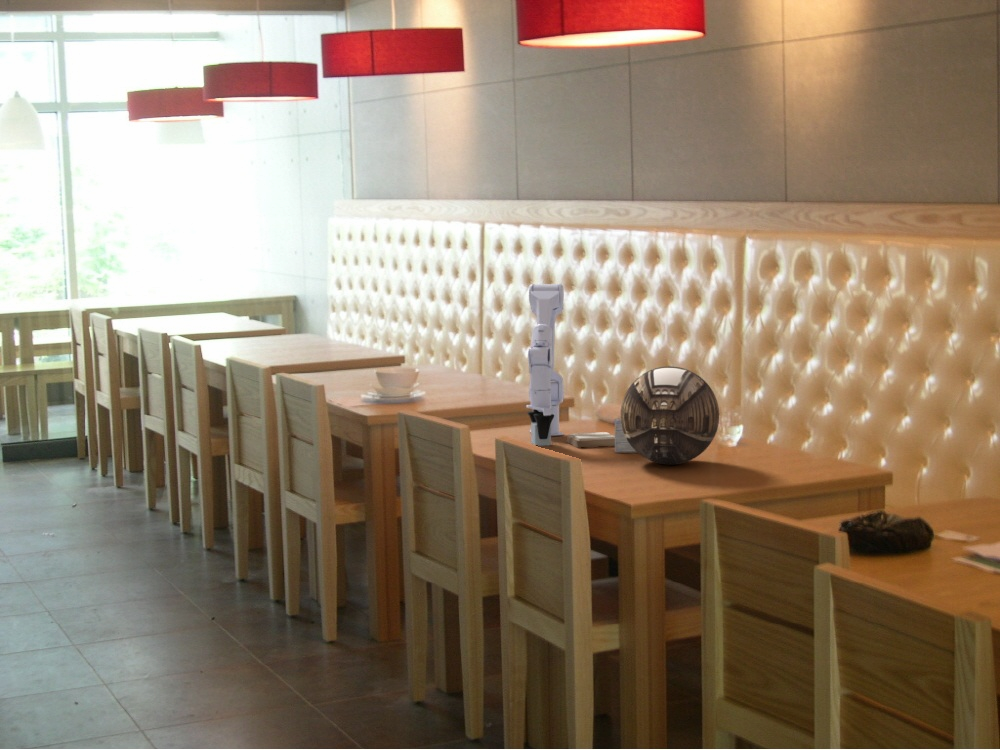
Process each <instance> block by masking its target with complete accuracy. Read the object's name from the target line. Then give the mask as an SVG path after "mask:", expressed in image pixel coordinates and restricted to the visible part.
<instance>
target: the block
mask: <svg viewBox="0 0 1000 750" xmlns="http://www.w3.org/2000/svg"><path fill="white" fill-rule="evenodd" d="M530 430H531V432H530V434H531V435H530V439H531V441H530V442H531V443H532V445H533V444H535V445H538V446H537V447H540V446H541V447H542V446H545V447H546V446H552V436H551V425H550V428H549V433H548V437H547V439H539V435H538V428H537V423H536V422H530ZM535 445H534V446H535Z"/></svg>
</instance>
